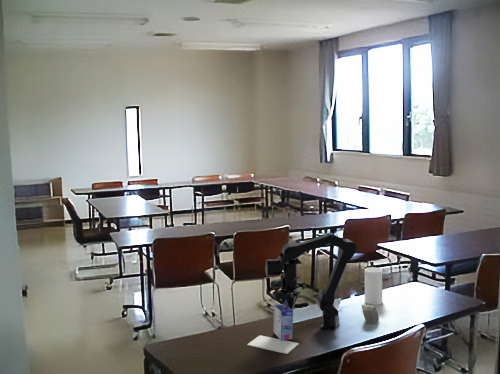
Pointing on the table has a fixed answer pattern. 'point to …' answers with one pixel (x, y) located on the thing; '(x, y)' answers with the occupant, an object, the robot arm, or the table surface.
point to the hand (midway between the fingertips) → (291, 309)
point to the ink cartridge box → (283, 321)
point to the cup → (373, 285)
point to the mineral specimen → (370, 314)
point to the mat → (273, 344)
